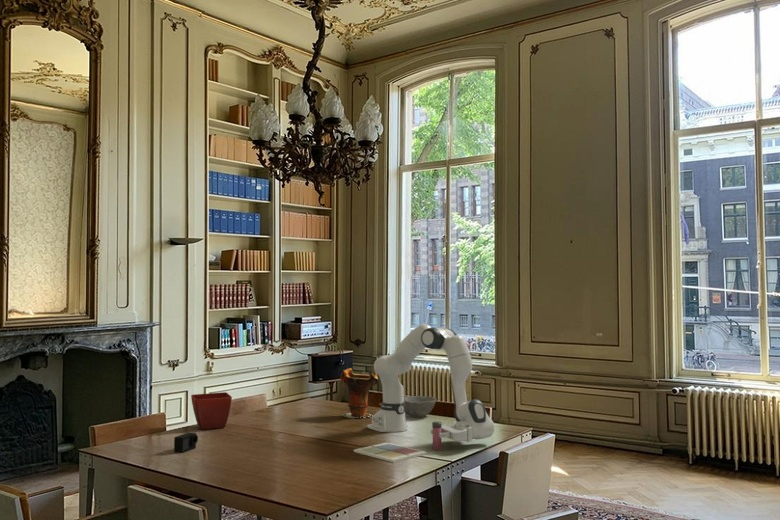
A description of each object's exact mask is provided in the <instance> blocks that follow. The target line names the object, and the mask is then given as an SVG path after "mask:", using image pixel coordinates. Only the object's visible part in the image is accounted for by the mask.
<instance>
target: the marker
mask: <svg viewBox="0 0 780 520" xmlns="http://www.w3.org/2000/svg"><path fill="white" fill-rule="evenodd" d="M442 425H443V424H442V421H432V422H431V426H432V427H431V428H432V430H433V434H432V450H433V451H441V449H442V447H443V446H442V445H443V444H442V438H440V437H439V436H438V434H439V433H441V427H442Z"/></svg>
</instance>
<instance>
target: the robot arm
mask: <svg viewBox="0 0 780 520" xmlns="http://www.w3.org/2000/svg"><path fill="white" fill-rule="evenodd" d="M425 349H429V350H437V351H442V350H443V351H445V353H446V356H447V359H448V365H449V371H450V384H451V390H452V395H453V402H454V412H453V413H454V414H453V416H454V418H455V421H456V422H455V424H454V425H452V424H445V423H442V424H441V425H442V427H441V433H439V434H438V436H439V437H440V438H441V439H442V438H446V439H450V440H451V441H452V440H453V441H454V442H468V443H470V442H472V440H483V439H487V438H490V437H492V436H493V434H494V432H495V423H494V421H493V420H492V419H491V418H490V416H489V414H488V412H487V411H486V407H485V404H484V402H482V401H481V400H480V399H477V398H474V399H471V400H469V401H468V397H467V392H466V381H467V379H468V377H469V376H470V374H471V372H472V369H473V362H472V361H473V360H472V357H471V356H472V355H471V352H470V350H469V348H468V345H467V342H466V341H465V338H464V337H463V336H461V335H458V334H457V332H455V331H454V330H453V329H450V328H445V327H431V325H429V324H427V323H421V324H419V325H418V326H416V327H415V328H413V329H412V330H411V331H410V332H409V333H408V334H407V335H406V336H405V337H404V338H403V339H402V340H401V341H400V343H399V344H398V348H397V350H396V351H395V352H394V353H392V354H386V355H385V354H384V355H382V356H380V357H378V358H376V360H375V361H374V364H373V369H374V372H376V374H377V377H379V379H380V382H381V387H382V389H381V390H382V402H379V406H380V409H379V410H377V412H376V413H375V414H373V415H372V417H371V424H367V425H366V427H367V429H370V430H373V431H376V432H379V433H387V432H388V433H396V432H397V433H398V432H404V431H407V430H408V425H407V420H406V413H405V412H404V409H405V402H404V397H405V393H404V392H405V389H404V385H402V383H401V382H400V378H399V376H400V375H403V374H405V373H407V372H409V371H410V370H411V368H412V363H413V362H414V360H415V359H416V358H417V357H418V356H419V355H420V353H422V352H423V351H424V350H425ZM430 433H431V434H432V435H433V429H431V430H430Z"/></svg>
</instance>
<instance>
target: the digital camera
mask: <svg viewBox="0 0 780 520" xmlns="http://www.w3.org/2000/svg"><path fill="white" fill-rule="evenodd" d="M173 439H174V441H173V442H174V443H173V449H174V450H173V453H174V454H175V453H176V454H184V453H185V452H186V453H187V452H189V451H191V450H194V449H196V448H197V443H198V441H199V440H198V439H199V437H198V435H197V432H186V433H183V434H180V435H177V436H175V437H174V438H173Z"/></svg>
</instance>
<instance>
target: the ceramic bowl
mask: <svg viewBox="0 0 780 520" xmlns="http://www.w3.org/2000/svg"><path fill="white" fill-rule="evenodd" d="M437 400H438V399H437V398H436V397H434V396H425V395H412V396H410V395H409V396H408V395H407V396H404V402H405V409H404V412H405V415H406V416H408V417H411V418H423V417H426V416H427V415H429V414H430V413H431V412H432V410H433V408H434V406H435V404H436V402H437Z"/></svg>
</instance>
